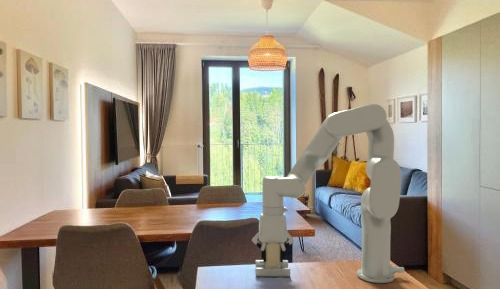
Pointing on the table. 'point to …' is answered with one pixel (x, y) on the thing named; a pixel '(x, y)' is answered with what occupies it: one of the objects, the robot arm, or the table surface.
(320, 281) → the table surface
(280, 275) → the track
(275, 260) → the candle
